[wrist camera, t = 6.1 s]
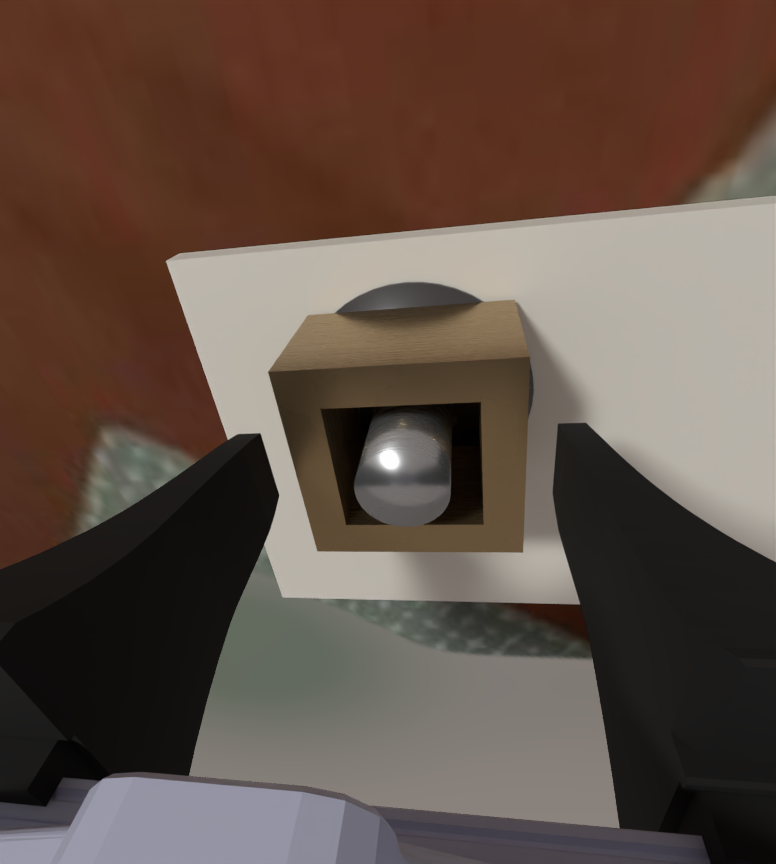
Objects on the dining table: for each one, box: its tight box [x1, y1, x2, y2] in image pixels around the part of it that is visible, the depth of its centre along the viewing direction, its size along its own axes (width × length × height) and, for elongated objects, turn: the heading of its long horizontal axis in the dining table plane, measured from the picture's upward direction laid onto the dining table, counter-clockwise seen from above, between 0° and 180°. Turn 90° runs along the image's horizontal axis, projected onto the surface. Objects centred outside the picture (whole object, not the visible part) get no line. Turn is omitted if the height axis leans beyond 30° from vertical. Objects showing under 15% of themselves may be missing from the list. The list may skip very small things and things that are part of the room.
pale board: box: [166, 196, 776, 604], centre depth 16 cm, size 22×14×1 cm, turn 96°
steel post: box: [335, 282, 534, 527], centre depth 13 cm, size 7×7×4 cm
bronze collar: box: [268, 300, 530, 553], centre depth 14 cm, size 6×6×4 cm
